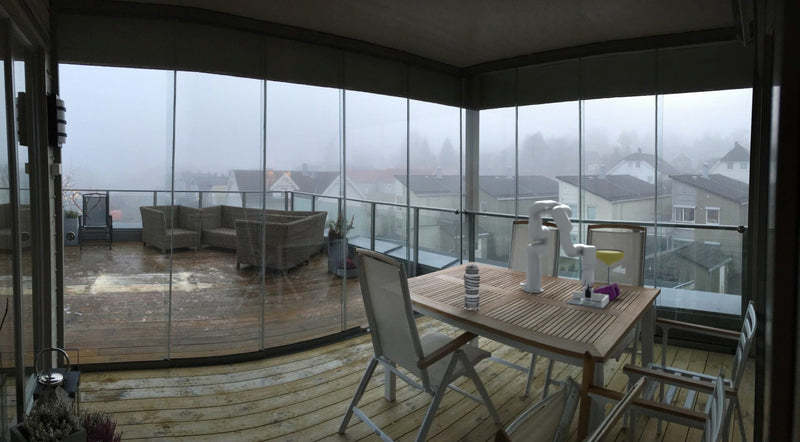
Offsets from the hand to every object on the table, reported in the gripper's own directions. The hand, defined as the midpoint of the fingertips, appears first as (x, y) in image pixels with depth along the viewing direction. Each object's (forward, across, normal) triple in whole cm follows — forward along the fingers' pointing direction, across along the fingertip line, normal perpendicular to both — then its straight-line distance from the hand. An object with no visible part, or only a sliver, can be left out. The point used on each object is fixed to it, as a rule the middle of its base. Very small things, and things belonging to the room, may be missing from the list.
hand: (588, 297), depth 272 cm
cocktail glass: (+4, -46, +2) cm, 47 cm away
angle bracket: (+1, +2, 0) cm, 3 cm away
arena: (+3, 0, 0) cm, 3 cm away
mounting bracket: (+4, -19, +4) cm, 19 cm away
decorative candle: (+4, +48, -52) cm, 71 cm away
